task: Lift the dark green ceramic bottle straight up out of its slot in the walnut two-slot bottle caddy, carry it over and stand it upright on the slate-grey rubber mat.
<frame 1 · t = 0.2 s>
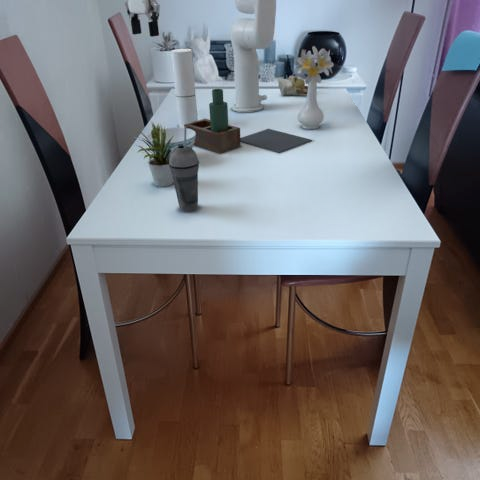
hand: (145, 35, 157), 31 cm above the table, tool pointing down, fingers open, 9 cm apart
caddy: (212, 144, 165), on the table
cylindrical container: (188, 126, 184), on the table
mat: (273, 140, 165), on the table
ceramic sculpture: (294, 95, 216), on the table
house plant: (160, 182, 139), on the table
chinaware: (174, 160, 154), on the table
flower vase: (311, 127, 176), on the table
beverage cup: (188, 209, 124), on the table
bottle: (220, 147, 162), resting in caddy
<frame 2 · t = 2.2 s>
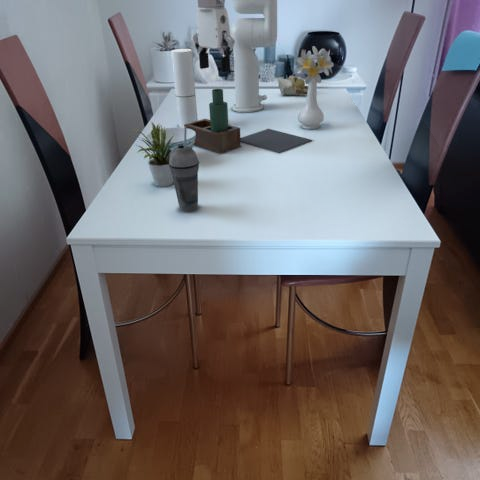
hand: (214, 69, 148), 23 cm above the table, tool pointing down, fingers open, 9 cm apart
nothing on the table moved.
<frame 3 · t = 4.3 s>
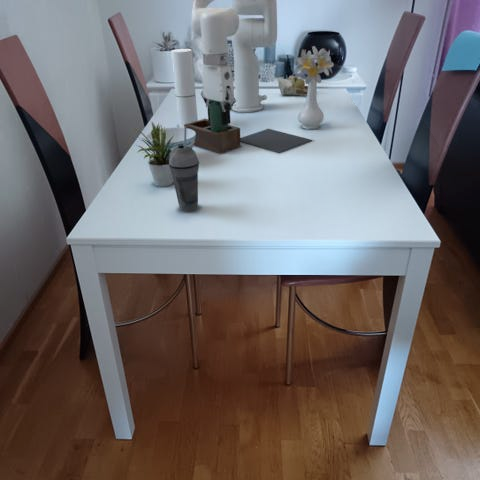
hand: (219, 121, 157), 8 cm above the table, tool pointing down, fingers closed on bottle, 5 cm apart
bottle: (220, 147, 162), resting in caddy, touching gripper
everything else where it was.
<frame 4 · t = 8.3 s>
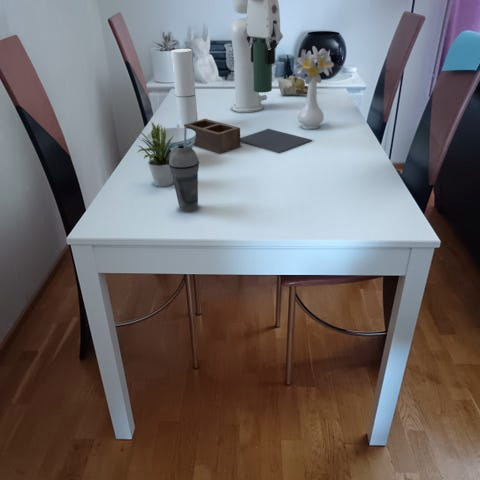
hand: (262, 62, 150), 24 cm above the table, tool pointing down, fingers closed on bottle, 5 cm apart
bottle: (262, 90, 155), point 16 cm above the table, touching gripper
everything else where it was.
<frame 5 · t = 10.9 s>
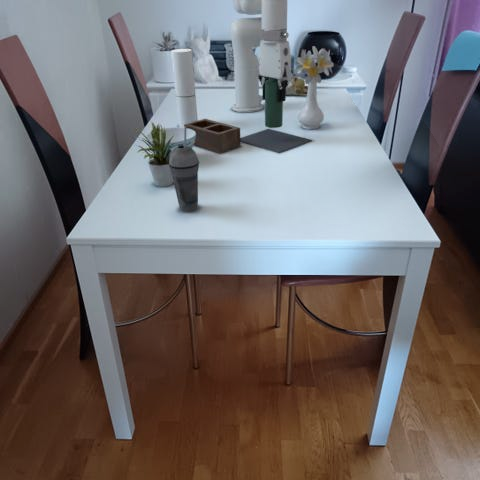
hand: (273, 99, 158), 13 cm above the table, tool pointing down, fingers closed on bottle, 5 cm apart
bottle: (273, 125, 162), point 5 cm above the table, touching gripper
everything else where it was.
when the fingers open (8 cm above the table, at t = 12.4 s): bottle stays where it is, resting on mat.
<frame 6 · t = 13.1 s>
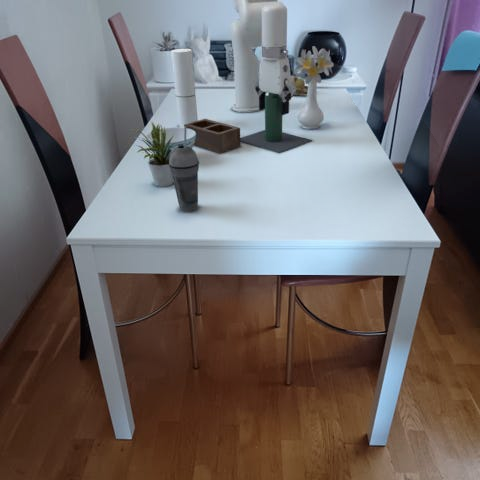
hand: (273, 111, 160), 9 cm above the table, tool pointing down, fingers open, 9 cm apart
bottle: (273, 139, 165), resting on mat
everything else where it was.
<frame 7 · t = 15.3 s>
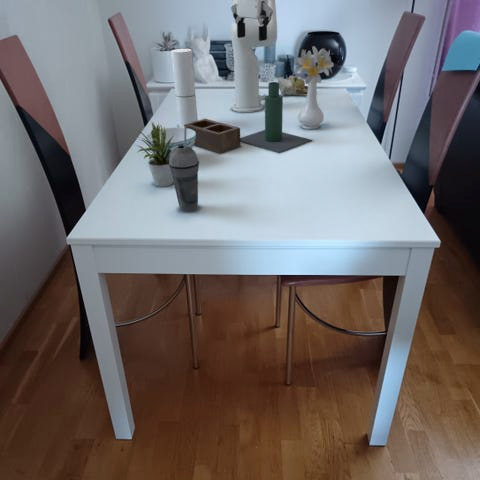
hand: (252, 38, 159), 29 cm above the table, tool pointing down, fingers open, 9 cm apart
nothing on the table moved.
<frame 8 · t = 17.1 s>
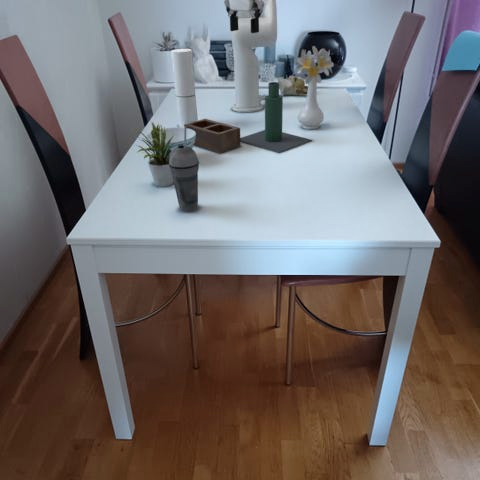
hand: (244, 31, 162), 30 cm above the table, tool pointing down, fingers open, 9 cm apart
nothing on the table moved.
at the end: bottle inside the target area on the mat (0.0 cm from its centre), point 0.4 cm above the mat's base; bottle tilted 0°; bottle touching mat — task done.
